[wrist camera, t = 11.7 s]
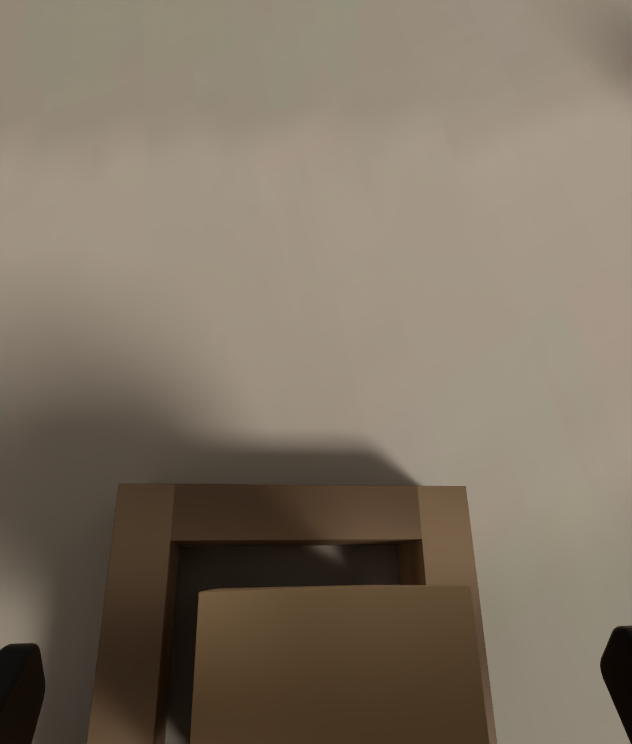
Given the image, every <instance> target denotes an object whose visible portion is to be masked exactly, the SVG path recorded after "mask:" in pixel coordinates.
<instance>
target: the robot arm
mask: <svg viewBox="0 0 632 744" xmlns="http://www.w3.org/2000/svg"><path fill="white" fill-rule="evenodd" d="M600 667H601V673H602V676H603V679H604V681H605V684H606V686H607V689H608V691H609V693H610V696H611V698H612V700H613V703H614V705H615V707H616V710H617V712H618V714H619V717H620V719H621V721H622V724H623V726H624V728H625V731H626V733H627V736H628V738H629V740H630V743H631V744H632V626H618V627H616V628H615V629H614V630H613V632H612V634H611V636H610V638H609V641H608V643H607V646H606V648H605V650H604V653H603V655H602V657H601V662H600ZM44 694H45V678H44V672H43V665H42V659H41V653H40V649H39V647H38V645H37V644H34V643H24V644H9V645H7V646H5V647H3V648H2V649H1V650H0V744H31V743H32V740H33V736H34V732H35V729H36V725H37V721H38V718H39V714H40V710H41V707H42V703H43V699H44Z"/></svg>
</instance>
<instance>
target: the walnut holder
mask: <svg viewBox="0 0 632 744" xmlns="http://www.w3.org/2000/svg"><path fill="white" fill-rule="evenodd" d="M310 545H398V558H399V572H400V585H464V586H470V587H471V595H472V603H473V612H474V620H475V628H476V636H477V645H478V653H479V661H480V669H481V678H482V686H483V694H484V702H485V711H486V719H487V727H488V735H489V744H497V739H496V731H495V723H494V715H493V707H492V698H491V690H490V682H489V674H488V665H487V657H486V649H485V641H484V633H483V624H482V616H481V608H480V600H479V591H478V583H477V575H476V567H475V558H474V550H473V542H472V534H471V526H470V517H469V509H468V501H467V493H466V486H362V485H233V484H119V487H118V495H117V503H116V511H115V519H114V528H113V536H112V544H111V552H110V560H109V568H108V576H107V584H106V592H105V600H104V608H103V616H102V624H101V632H100V640H99V648H98V657H97V665H96V673H95V681H94V689H93V697H92V705H91V713H90V721H89V729H88V737H87V744H165V732H166V719H167V706H168V693H169V680H170V667H171V654H172V641H173V628H174V615H175V602H176V590H177V577H178V564H179V551H180V547H181V546H310Z"/></svg>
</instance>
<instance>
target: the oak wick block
mask: <svg viewBox="0 0 632 744" xmlns="http://www.w3.org/2000/svg"><path fill="white" fill-rule="evenodd" d="M190 744H489V735H488V727H487V719H486V711H485V702H484V694H483V686H482V678H481V669H480V661H479V653H478V645H477V636H476V628H475V620H474V612H473V603H472V595H471V587H470V586H464V585H327V586H284V587H241V588H216V589H211V590H206V591H202V592H199V599H198V616H197V633H196V650H195V667H194V684H193V702H192V719H191V736H190Z"/></svg>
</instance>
